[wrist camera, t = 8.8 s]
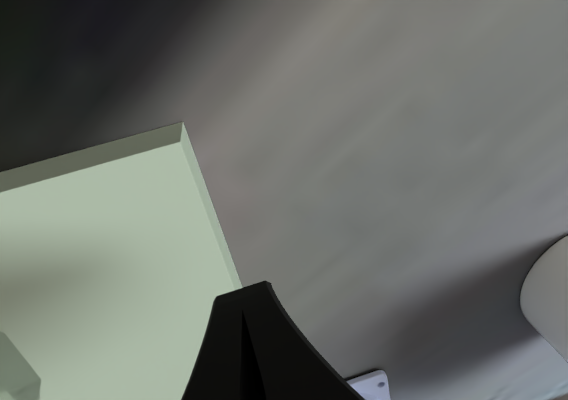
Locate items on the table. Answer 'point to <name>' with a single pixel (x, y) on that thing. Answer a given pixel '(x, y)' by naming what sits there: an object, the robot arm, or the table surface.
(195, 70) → the table surface
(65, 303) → the putting board
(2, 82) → the table surface
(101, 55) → the table surface
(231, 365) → the robot arm
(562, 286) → the candle holder
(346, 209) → the table surface
